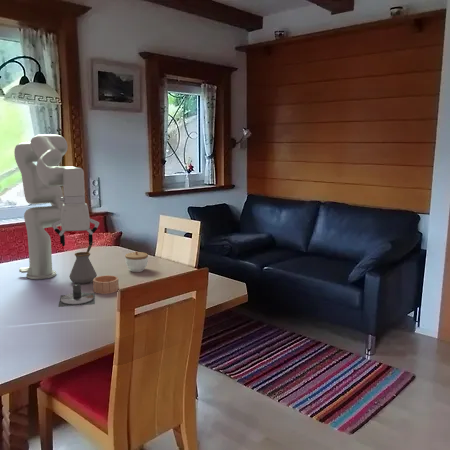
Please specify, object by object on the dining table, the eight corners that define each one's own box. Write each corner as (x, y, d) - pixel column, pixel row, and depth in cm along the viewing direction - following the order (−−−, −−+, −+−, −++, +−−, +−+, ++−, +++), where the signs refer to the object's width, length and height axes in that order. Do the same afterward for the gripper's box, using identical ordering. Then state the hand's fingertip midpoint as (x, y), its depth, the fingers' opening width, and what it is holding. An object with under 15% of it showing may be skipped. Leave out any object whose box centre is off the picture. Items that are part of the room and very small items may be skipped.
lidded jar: (150, 267, 223) (150, 249, 222) (144, 273, 213) (144, 254, 211) (129, 266, 224) (129, 248, 223) (122, 272, 214) (122, 253, 212)
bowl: (93, 295, 182) (93, 283, 181) (93, 287, 191) (93, 276, 190) (119, 293, 185) (118, 281, 184) (117, 286, 194) (117, 274, 193)
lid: (59, 306, 168) (59, 291, 167) (62, 295, 179) (61, 281, 178) (93, 303, 171) (92, 288, 170) (93, 293, 183) (93, 279, 182)
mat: (58, 307, 168) (58, 306, 168) (60, 296, 180) (60, 295, 180) (94, 304, 171) (94, 303, 171) (94, 293, 183) (94, 293, 183)
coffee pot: (92, 286, 193) (91, 252, 191) (65, 285, 193) (64, 251, 191) (105, 272, 214) (104, 241, 212) (81, 271, 214) (80, 240, 212)
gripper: (49, 202, 165) (51, 248, 168) (98, 200, 169) (100, 245, 172) (51, 200, 172) (54, 244, 175) (98, 198, 176) (100, 242, 179)
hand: (76, 244), depth 173 cm, fingers open, 9 cm apart
